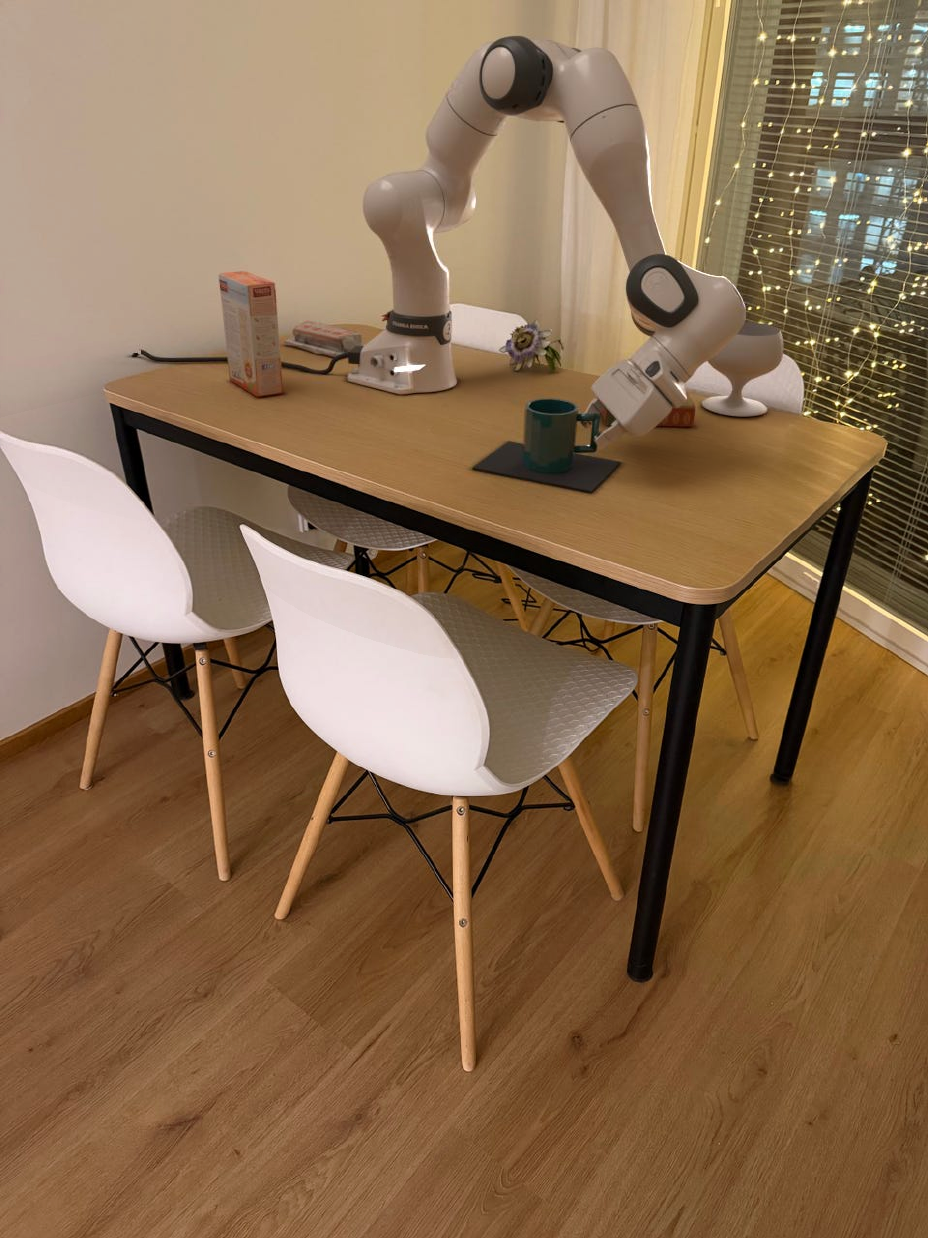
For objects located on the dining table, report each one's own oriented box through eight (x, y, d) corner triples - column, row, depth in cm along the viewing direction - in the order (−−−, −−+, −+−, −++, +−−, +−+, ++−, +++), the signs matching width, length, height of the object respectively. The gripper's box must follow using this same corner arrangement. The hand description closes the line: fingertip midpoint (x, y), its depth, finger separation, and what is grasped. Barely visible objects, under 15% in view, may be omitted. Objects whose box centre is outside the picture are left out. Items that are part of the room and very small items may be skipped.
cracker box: (285, 393, 177) (276, 281, 167) (256, 398, 174) (245, 284, 164) (256, 376, 187) (246, 269, 176) (228, 380, 184) (216, 271, 173)
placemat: (472, 469, 145) (472, 467, 144) (508, 443, 155) (508, 440, 155) (591, 493, 137) (591, 490, 137) (620, 463, 148) (620, 461, 148)
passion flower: (518, 395, 197) (487, 347, 194) (540, 374, 204) (511, 328, 201) (556, 374, 189) (525, 323, 186) (578, 353, 196) (548, 304, 193)
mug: (527, 474, 142) (530, 415, 137) (518, 455, 149) (521, 398, 144) (602, 472, 144) (607, 413, 139) (589, 453, 151) (594, 397, 146)
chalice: (727, 423, 166) (741, 340, 159) (682, 401, 177) (693, 322, 170) (787, 415, 171) (804, 334, 164) (740, 394, 182) (753, 317, 175)
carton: (693, 428, 164) (696, 404, 162) (604, 426, 164) (606, 402, 162) (684, 413, 171) (688, 390, 169) (599, 411, 171) (601, 388, 169)
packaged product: (369, 329, 203) (336, 337, 197) (369, 351, 206) (337, 360, 199) (314, 316, 213) (281, 324, 206) (315, 337, 216) (283, 345, 209)
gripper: (624, 340, 148) (561, 400, 152) (665, 375, 131) (593, 442, 134) (647, 366, 151) (585, 425, 155) (690, 404, 134) (619, 470, 137)
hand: (589, 433), depth 144 cm, fingers open, 8 cm apart
